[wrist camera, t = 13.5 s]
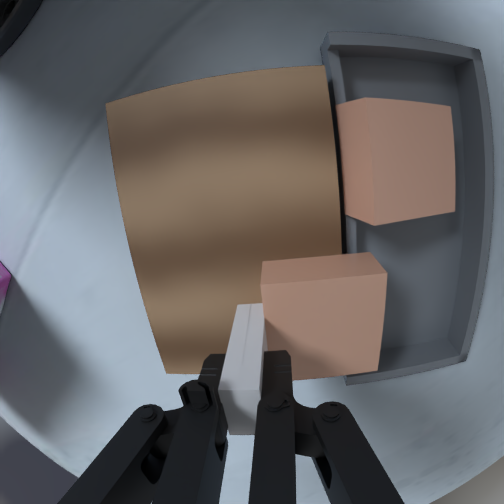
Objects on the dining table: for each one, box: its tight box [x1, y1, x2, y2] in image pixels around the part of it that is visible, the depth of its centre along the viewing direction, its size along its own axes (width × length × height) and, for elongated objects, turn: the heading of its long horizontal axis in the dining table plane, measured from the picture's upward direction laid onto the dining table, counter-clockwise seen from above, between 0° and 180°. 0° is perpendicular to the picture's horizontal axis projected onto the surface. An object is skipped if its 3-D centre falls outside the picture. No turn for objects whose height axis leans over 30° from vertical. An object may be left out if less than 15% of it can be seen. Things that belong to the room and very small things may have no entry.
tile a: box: [335, 97, 455, 226], centre depth 15 cm, size 6×6×3 cm
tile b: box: [260, 252, 387, 381], centre depth 16 cm, size 6×6×3 cm
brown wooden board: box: [106, 65, 342, 374], centre depth 18 cm, size 18×12×3 cm, turn 7°
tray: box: [320, 32, 494, 385], centre depth 17 cm, size 22×10×3 cm, turn 7°
